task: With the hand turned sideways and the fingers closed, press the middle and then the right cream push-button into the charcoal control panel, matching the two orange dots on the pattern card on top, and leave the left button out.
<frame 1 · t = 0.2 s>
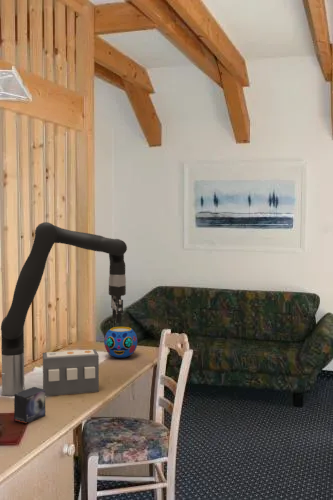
hand: (116, 320, 253), 29 cm above the table, tool pointing down, fingers open, 8 cm apart
left button: (53, 374, 239), point 9 cm above the table, slide at 0.0 cm
small box: (30, 419, 214), on the table
ceramic pot: (120, 357, 301), on the table
middle button: (71, 373, 240), point 9 cm above the table, slide at 0.0 cm
control panel: (71, 393, 242), on the table
right button: (89, 372, 242), point 9 cm above the table, slide at 0.0 cm
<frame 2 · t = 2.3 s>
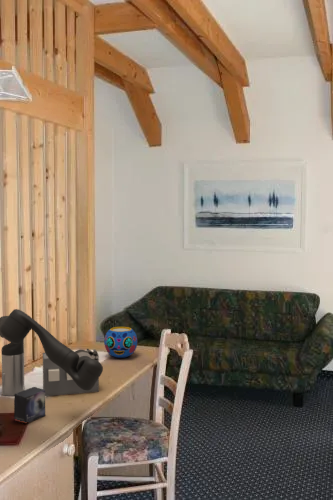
hand: (76, 351, 225), 22 cm above the table, tool horizontal, fingers open, 8 cm apart
nothing on the table moved.
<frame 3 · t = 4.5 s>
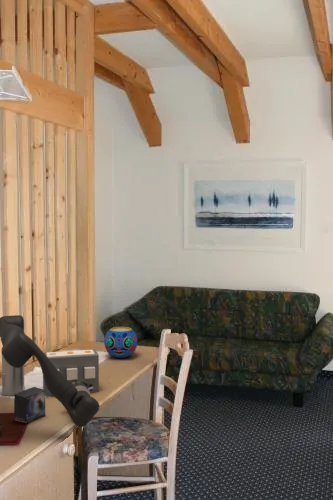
hand: (74, 381, 229), 9 cm above the table, tool horizontal, fingers closed
nothing on the table moved.
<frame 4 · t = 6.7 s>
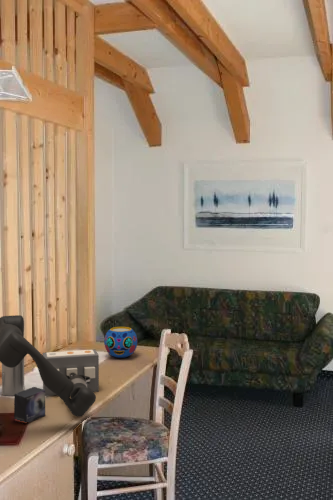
hand: (72, 374, 239), 9 cm above the table, tool horizontal, fingers closed
middle button: (71, 373, 241), point 9 cm above the table, slide at 0.3 cm, touching gripper
everything else where it was.
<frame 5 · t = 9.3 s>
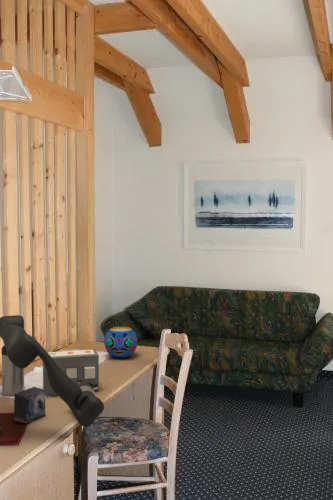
hand: (80, 381, 229), 9 cm above the table, tool horizontal, fingers closed
middle button: (71, 372, 242), point 9 cm above the table, slide at 2.1 cm
everything else where it was.
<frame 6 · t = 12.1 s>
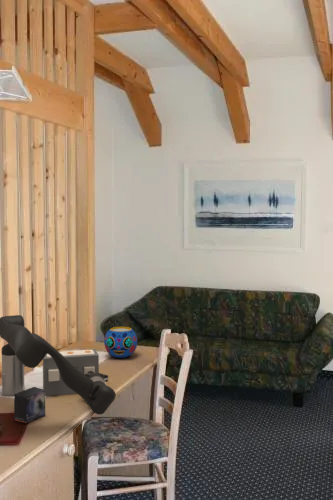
hand: (90, 373, 242), 9 cm above the table, tool horizontal, fingers closed
right button: (89, 371, 243), point 9 cm above the table, slide at 0.8 cm, touching gripper
everything else where it was.
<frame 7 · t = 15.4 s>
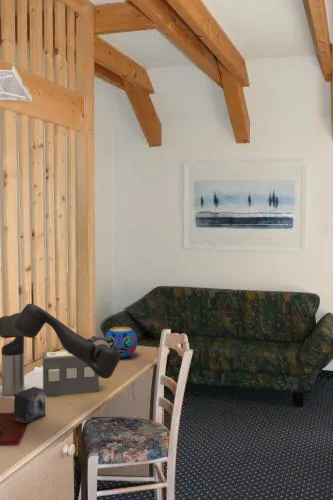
hand: (93, 338, 230), 26 cm above the table, tool horizontal, fingers closed
right button: (88, 370, 244), point 9 cm above the table, slide at 2.1 cm
everything else where it was.
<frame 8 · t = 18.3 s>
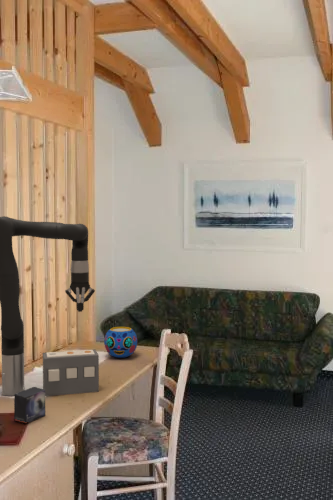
hand: (80, 311, 242), 35 cm above the table, tool pointing down, fingers closed
nothing on the table moved.
at the end: middle button slide at 2.1 cm; right button slide at 2.1 cm; left button slide at 0.0 cm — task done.
